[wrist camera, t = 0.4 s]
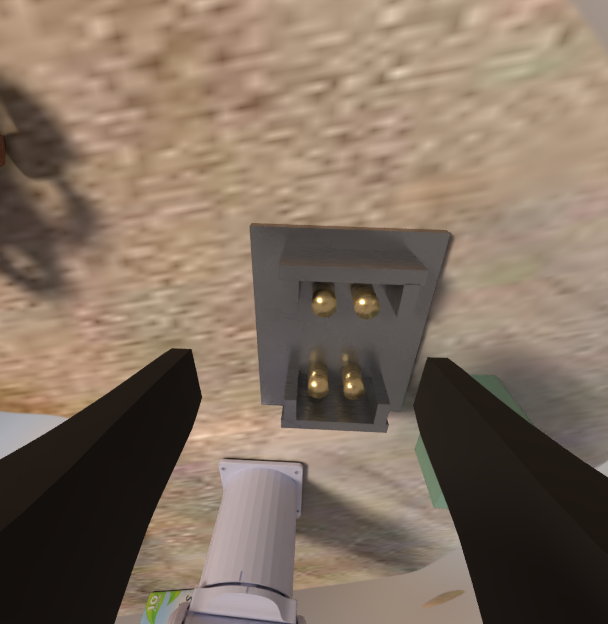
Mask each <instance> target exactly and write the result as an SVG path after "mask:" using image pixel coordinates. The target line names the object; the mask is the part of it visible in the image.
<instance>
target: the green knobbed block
mask: <svg viewBox="0 0 608 624" xmlns="http://www.w3.org/2000/svg"><path fill="white" fill-rule="evenodd" d="M470 376H471V377H473V378H474V379H475V380H476V381H478V382H479V383H480V384H481V385H482V386H484V387H485V388H486V389H487V390H489V391H490V392H491V393H492V394H494V395H495V396H496V397H497V398H499V399H500V400H501V401H502V402H504V403H505V404H506V405H507V406H509V407H510V408H511V409H512V410H514V411H515V412H516V413H518V414H519V415H520V416H521V417H523V418H524V419H525V420H527V421H528V422H529V423H531V424H532V425H533V426H534V424H533V423H532V422H531V421H530V419H529V418H528V417H527V416H526V414H525V413H524V412H523V410H522V409H521V408H520V407H519V405H518V404H517V403H516V401H515V400H514V399H513V398H512V396H511V395H510V394H509V392H508V391H507V390H506V389H505V387H504V386H503V385H502V384H501V382H500V381H499V380H498V378H497V377H496V376H488V375H470ZM415 451H416V455H417V458H418V461H419V464H420V467H421V470H422V473H423V476H424V479H425V482H426V485H427V488H428V491H429V494H430V497H431V500H432V504H433V507H434V508H447V509H448V506H447V503H446V501H445V498H444V496H443V493H442V491H441V488H440V485H439V483H438V480H437V478H436V475H435V473H434V470H433V467H432V465H431V462H430V460H429V457H428V454H427V452H426V449H425V446H424V444H423V441H422V438H421V435H419V438H418V441H417V444H416V447H415Z"/></svg>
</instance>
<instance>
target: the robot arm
mask: <svg viewBox="0 0 608 624" xmlns="http://www.w3.org/2000/svg"><path fill="white" fill-rule="evenodd" d="M201 399H202V395H201V390H200V386H199V381H198V377H197V372H196V367H195V363H194V358H193V354H192V349H175V348H172V349H170V350H169V351H167V352H166V353H164V354H163V355H161V356H160V357H158V358H157V359H155V360H154V361H153V362H151V363H150V364H148V365H147V366H146V367H144V368H143V369H141V370H140V371H139V372H137V373H136V374H134V375H133V376H132V377H130V378H129V379H127V380H126V381H124V382H123V383H122V384H120V385H119V386H117V387H116V388H115V389H113V390H112V391H110V392H109V393H107V394H106V395H104V396H103V397H101V398H100V399H98V400H97V401H95V402H94V403H92V404H91V405H89V406H88V407H86V408H85V409H83V410H82V411H80V412H79V413H77V414H76V415H74V416H72V417H71V418H69V419H68V420H66V421H65V422H63V423H62V424H60V425H58V426H57V427H55V428H54V429H52V430H50V431H49V432H47V433H46V434H44V435H42V436H40V437H39V438H37V439H36V440H34V441H32V442H30V443H28V444H27V445H25V446H23V447H21V448H20V449H18V450H16V451H15V452H13V453H11V454H9V455H7V456H6V457H4V458H2V459H0V624H114V623H115V620H116V617H117V614H118V611H119V608H120V605H121V602H122V599H123V596H124V593H125V590H126V587H127V584H128V581H129V578H130V576H131V573H132V570H133V567H134V564H135V561H136V558H137V556H138V553H139V550H140V547H141V545H142V542H143V539H144V536H145V534H146V531H147V528H148V525H149V523H150V520H151V518H152V516H153V513H154V511H155V509H156V506H157V504H158V502H159V499H160V497H161V495H162V493H163V491H164V489H165V487H166V484H167V482H168V480H169V478H170V476H171V474H172V471H173V469H174V467H175V465H176V463H177V461H178V459H179V456H180V454H181V452H182V450H183V448H184V445H185V443H186V441H187V439H188V437H189V434H190V432H191V430H192V428H193V425H194V422H195V419H196V416H197V412H198V409H199V406H200V403H201ZM413 406H414V410H415V415H416V419H417V423H418V427H419V431H420V435H421V438H422V441H423V444H424V446H425V449H426V452H427V454H428V457H429V460H430V462H431V465H432V467H433V470H434V473H435V475H436V478H437V480H438V483H439V485H440V488H441V491H442V493H443V496H444V498H445V501H446V503H447V506H448V509H449V511H450V514H451V516H452V519H453V522H454V525H455V528H456V531H457V533H458V536H459V539H460V543H461V546H462V550H463V553H464V556H465V560H466V563H467V567H468V570H469V574H470V577H471V580H472V583H473V588H474V591H475V595H476V599H477V602H478V606H479V609H480V613H481V617H482V621H483V624H608V477H606V476H605V475H603V474H602V473H600V472H599V471H597V470H596V469H594V468H593V467H591V466H590V465H588V464H587V463H585V462H584V461H582V460H581V459H579V458H578V457H576V456H575V455H573V454H572V453H571V452H569V451H568V450H566V449H565V448H563V447H562V446H561V445H559V444H558V443H557V442H555V441H554V440H552V439H551V438H550V437H548V436H547V435H546V434H544V433H543V432H541V431H540V430H539V429H537V428H536V427H535V426H533V425H532V424H531V423H529V422H528V421H527V420H525V419H524V418H523V417H521V416H520V415H519V414H518V413H516V412H515V411H514V410H512V409H511V408H510V407H509V406H507V405H506V404H505V403H504V402H502V401H501V400H500V399H499V398H497V397H496V396H495V395H494V394H492V393H491V392H490V391H489V390H487V389H486V388H485V387H484V386H482V385H481V384H480V383H479V382H478V381H476V380H475V379H474V378H473V377H471V376H470V375H469V374H468V373H466V372H465V371H464V370H463V369H461V368H460V367H459V366H458V365H456V364H455V363H454V362H452V361H451V360H450V359H448V358H431V357H427V360H426V364H425V367H424V371H423V374H422V377H421V381H420V384H419V388H418V391H417V395H416V398H415V402H414V405H413ZM219 470H220V475H221V480H222V485H223V490H224V494H223V497H222V501H221V505H220V509H219V512H218V516H217V520H216V524H215V527H214V531H213V535H212V539H211V542H210V546H209V550H208V554H207V557H206V561H205V565H204V569H203V572H202V576H201V580H200V584H199V587H196V588H195V589H194V593H193V597H192V600H191V604H190V603H189V602H182V603H181V604H180V606H179V607H178V608H177V609H176V610H175V611H174V612H173V613H172V614H171V615H170V617H169V619H168V622H167V624H306V622H305V619H304V617H303V616H297V615H296V612H297V611H296V610H297V600H296V599H292V592H293V574H294V556H295V537H296V518H299V517H301V501H302V478H303V465H302V464H300V463H292V462H272V461H253V460H233V459H222V460H220V461H219Z"/></svg>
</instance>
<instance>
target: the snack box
mask: <svg viewBox="0 0 608 624" xmlns="http://www.w3.org/2000/svg"><path fill="white" fill-rule="evenodd" d="M193 593H194V589H191V590H179V591H165V592H153V593H151V594H150V596H149V599H148V601H147V604H146V607H145V610H144V613H143V615H142V618H141V621H140V624H167V622H168V619H169V617H170V615H171V614H172V613H173V612H174V611H175V610H176V609H177V608H178V607H179V606H180V604H181V603H182V602H189V603H190V604H191V600H192V597H193Z"/></svg>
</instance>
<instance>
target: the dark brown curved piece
mask: <svg viewBox="0 0 608 624" xmlns="http://www.w3.org/2000/svg"><path fill="white" fill-rule="evenodd" d="M4 165H5V142H4V138H3V136H2V135H1V134H0V166H4Z"/></svg>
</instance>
